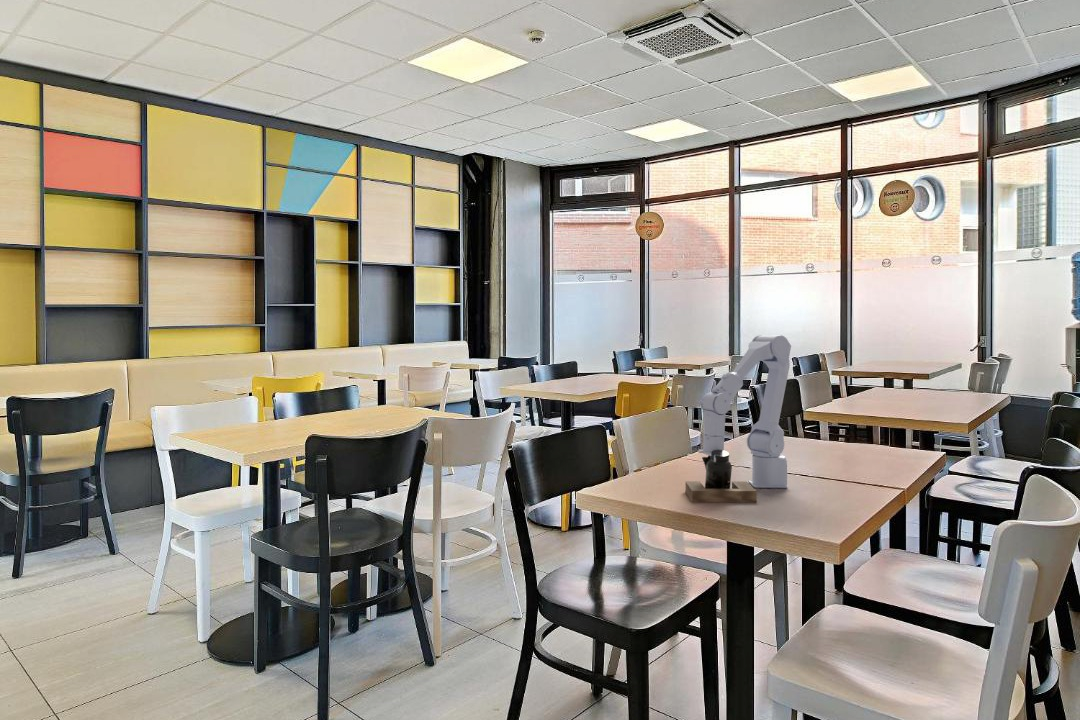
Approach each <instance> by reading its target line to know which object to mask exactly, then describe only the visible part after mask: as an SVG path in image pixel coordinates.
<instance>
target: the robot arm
mask: <svg viewBox="0 0 1080 720" xmlns="http://www.w3.org/2000/svg"><path fill="white" fill-rule="evenodd" d="M791 349H792V345H791V344H790V341H789V339H788V338H787V337H785V335H782V334H781V335H780V334H779V335H762V334H758V335H755V336H754V337H753V338H752V340H751V341H750V342H749V343H748V349H747V350H746V352H745V353H744V355H743V356H742V358H741V359H740V361H739V362H738V364H737V365H736V366H735V368H734V369H733V371H731V372H729V371H728V372H726V373H723V374H722V376H721V379H720V380H719V381H718V383H717V384H716V385H715V386H714V387H713V388H712V389H711V391H710V392H707V393H705V394H704V395H703V396H702V399H701V401H700V402H699V404H700V408H701V410H702V413H703V414H702V416H703V419H704V421H703V439H702V440H703V441H702V444H703V445H702V449H699V448H698V453H700V454H704V455H707V456H702V457H701V459H702V461H703V464H704V468H705V469H706V466H707V462H708V461H709V460H710V459H711V452H712V451H713V450H724V451H725V449H724V448H725V433H726V432H725V429H726V427H725V426H726V414H727V413H728V412H729V411H730V409H731V406H732V401H733V399H734V397H735V396H736V395H737V393H738V392H739V391H740V390H741V389H742V387H743V386H744V381H743V380H744V378H745V377H746V376H747V375H748V374H749V373H750V372H751V370H753V368H755V366H756V365H758V363H759V362H761V361H762V362H763V363H764V364H765V365H766V366H767V368H768V372H767V373H768V374H767V379H766V383H765V389H764V394H763V399H762V405H761V408H760V409H761V410H760V413H759V419H758V421H756V423H754V424H753V425H752V426H751V430H750V432H749V434H748V435H747V438H746V445H747V448H748V449H749V451H750V454H751V455H752V470H751V471H752V473H751V474H752V475H751V476H752V478H751V479H752V480H749V479H748V481H747V483H748V484H750V485H751V486H752V487H753V488H754V489H759V488H761V489H763V488H764V489H767V488H768V489H769V488H770V489H777V488H779V489H787V488H789V486H788V462H787V457H786V456H785V455H783V454H782V453H783V451H784V449H785V441H784V437H785V431H784V430H783V429H782V427H781V426H780V425H779V423H780V417H781V413H782V409H783V408H782V406H783V403H784V396H785V393H786V392H785V391H786V387H787V381H788V377H789V371H790V353H791ZM714 462H716V458H715V455H714Z"/></svg>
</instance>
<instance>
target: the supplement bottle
mask: <svg viewBox="0 0 1080 720" xmlns="http://www.w3.org/2000/svg"><path fill="white" fill-rule="evenodd" d="M714 455H715V458H716V462H714ZM732 469H733V465H732V463H731V462H730V453H729V452H728V451H727V450H725V449H724V450H713V451H712V452H711V459H710V460H709V461H708V462H707V466H706V468H705V481H704V487H705V489H731V484H732V471H733V470H732Z"/></svg>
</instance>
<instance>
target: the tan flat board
mask: <svg viewBox="0 0 1080 720" xmlns="http://www.w3.org/2000/svg"><path fill="white" fill-rule="evenodd" d="M685 493H686V495H687V497H688V498H689V499H690V501H691V503H758V499H757V498H758V497H757V496H758V495H757V494H758V491H757V490H756V488H755V487H754V486H752V485H751V484H750V483H749V482H748V481H739V480H738V481H735V480H734V481H732V480H731V488H730V489H705V485H703V484H702V482H701V481H697V480H695V481H693V480H690V481H689V480H687V481H686V480H685Z"/></svg>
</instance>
